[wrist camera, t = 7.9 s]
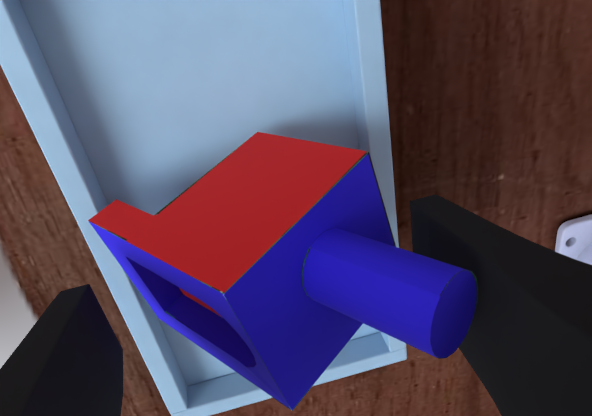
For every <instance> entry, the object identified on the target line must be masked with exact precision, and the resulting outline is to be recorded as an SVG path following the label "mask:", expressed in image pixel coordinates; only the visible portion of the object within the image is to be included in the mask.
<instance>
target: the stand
mask: <svg viewBox="0 0 592 416" xmlns="http://www.w3.org/2000/svg"><path fill="white" fill-rule="evenodd" d="M0 65H1V67H2V69H3V71H4V73H5V75H6V77H7V79H8V81H9V83H10V85H11V87H12V89H13V92H14V94H15V96H16V98H17V100H18V102H19V104H20V106H21V108H22V110H23V112H24V114H25V116H26V118H27V120H28V122H29V124H30V127H31V129H32V131H33V133H34V135H35V137H36V139H37V141H38V143H39V145H40V147H41V149H42V151H43V153H44V155H45V157H46V159H47V161H48V164H49V166H50V168H51V170H52V172H53V174H54V176H55V178H56V180H57V182H58V184H59V186H60V188H61V190H62V192H63V194H64V196H65V198H66V201H67V203H68V205H69V207H70V209H71V211H72V213H73V215H74V217H75V219H76V221H77V223H78V225H79V227H80V229H81V231H82V233H83V235H84V238H85V240H86V242H87V244H88V246H89V248H90V250H91V252H92V254H93V256H94V258H95V260H96V262H97V264H98V266H99V268H100V270H101V273H102V275H103V277H104V279H105V281H106V283H107V285H108V287H109V289H110V291H111V293H112V295H113V297H114V299H115V301H116V303H117V305H118V307H119V310H120V312H121V314H122V316H123V318H124V320H125V322H126V324H127V326H128V328H129V330H130V332H131V334H132V336H133V338H134V340H135V342H136V344H137V347H138V349H139V351H140V353H141V355H142V357H143V359H144V361H145V363H146V365H147V367H148V369H149V371H150V373H151V375H152V377H153V379H154V381H155V384H156V386H157V388H158V390H159V392H160V394H161V396H162V398H163V400H164V402H165V404H166V406H167V408H168V410H169V412H170V414H171V416H210V415H213V414H217V413H220V412H224V411H227V410H231V409H234V408H238V407H241V406H245V405H248V404H252V403H255V402H259V401H262V400H266V399H269V398H273V397H271V396H270V395H269V394H267V393H266V392H264V391H263V390H261V389H260V388H258V387H257V386H256V385H254V384H253V383H251V382H250V381H248V380H247V379H245V378H244V377H243V376H241V375H240V374H238V373H237V372H235V371H234V370H232V369H231V368H230V367H228V366H227V365H225V364H224V363H222V362H221V361H219V360H218V359H216V358H215V357H214V356H212V355H211V354H209V353H208V352H206V351H205V350H203V349H202V348H201V347H199V346H198V345H196V344H195V343H193V342H192V341H190V340H189V339H188V338H186V337H185V336H183V335H182V334H180V333H179V332H177V331H176V330H175V329H173V328H172V327H170V326H169V325H167V324H166V323H164V322H163V321H161V320H160V319H159V318H158V317H157V315H156V314H155V313H154V311H153V310H152V308H151V307H150V306H149V304H148V303H147V302H146V300H145V299H144V297H143V296H142V295H141V293H140V292H139V290H138V289H137V288H136V286H135V285H134V284H133V282H132V281H131V279H130V278H129V277H128V275H127V274H126V273H125V271H124V270H123V268H122V267H121V266H120V264H119V263H118V261H117V260H116V259H115V257H114V256H113V255H112V253H111V252H110V250H109V249H108V248H107V246H106V245H105V244H104V242H103V241H102V239H101V238H100V237H99V235H98V234H97V232H96V231H95V230H94V228H93V227H92V226H91V224H90V223H89V221H88V220H89V219H91V218H92V217H93V216H95V215H96V214H97V213H99V212H100V211H101V210H103V209H104V208H105V207H106V206H108V205H109V204H110V203H112V202H113V201H114V200H116V199H117V200H119V201H121V202H124V203H126V204H128V205H130V206H133V207H135V208H137V209H140V210H142V211H144V212H146V213H149V214H151V215H153V216H154V215H155V214H156V213H157V212H159V211H160V210H161V209H162V208H163V207H165V206H166V205H167V204H168V203H170V202H171V201H172V200H173V199H175V198H176V197H177V196H178V195H180V194H181V193H182V192H183V191H185V190H186V189H187V188H188V187H190V186H191V185H192V184H193V183H195V182H196V181H197V180H198V179H200V178H201V177H202V176H203V175H204V174H206V173H207V172H208V171H209V170H211V169H212V168H213V167H214V166H216V165H217V164H218V163H219V162H221V161H222V160H223V159H224V158H226V157H227V156H228V155H229V154H231V153H232V152H233V151H234V150H236V149H237V148H238V147H239V146H241V145H242V144H243V143H244V142H246V141H247V140H248V139H249V138H250V137H252V136H253V135H254V134H255V133H257V132H262V133H267V134H273V135H278V136H284V137H290V138H295V139H301V140H307V141H312V142H318V143H323V144H329V145H335V146H340V147H346V148H351V149H357V150H363V151H368V152H369V153H370V157H371V160H372V164H373V167H374V171H375V174H376V178H377V181H378V185H379V188H380V192H381V195H382V199H383V202H384V206H385V209H386V213H387V216H388V220H389V223H390V227H391V230H392V234H393V237H394V241H395V244H396V247H398V248H399V244H398V231H397V217H396V204H395V191H394V178H393V165H392V152H391V138H390V125H389V112H388V99H387V86H386V73H385V59H384V46H383V33H382V20H381V7H380V0H0ZM406 359H407V351H406V343H404V342H402V341H400V340H398V339H396V338H394V337H391V336H389V335H387V334H385V333H383V332H381V331H379V330H376V329H374V328H372V327H370V326H368V325H366V324H362V326H361V327H360V328H359V329H358V330H357V332H356V333H355V334H354V335H353V337H352V338H351V339H350V340H349V342H348V343H347V344H346V345H345V347H344V348H343V349H342V350H341V351H340V353H339V354H338V355H337V356H336V358H335V359H334V360H333V361H332V363H331V364H330V365H329V366H328V367H327V369H326V370H325V371H324V372H323V374H322V375H321V376H320V377H319V379H318V380H317V381H316V382H315V383H314V385H313V386H315V385H318V384H322V383H325V382H329V381H332V380H336V379H339V378H343V377H346V376H350V375H353V374H357V373H360V372H364V371H367V370H371V369H374V368H378V367H381V366H385V365H388V364H392V363H395V362H399V361H402V360H406Z"/></svg>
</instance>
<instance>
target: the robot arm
mask: <svg viewBox="0 0 592 416" xmlns="http://www.w3.org/2000/svg"><path fill="white" fill-rule="evenodd" d="M410 210H411V227H412V244H413V253H416V254H419V255H423V256H426V257H429V258H432V259H435V260H438V261H441V262H444V263H447V264H451V265H454V266H457V267H460V268H463V269H466V270H469V271H472V272H473V274H474V275H475V277H476V278H477V284H478V302H477V306H476V311H475V315H474V318H473V321H472V323H471V326H470V329H469V331H468V333H467V335H466V336H465V338H464V340H463V342H462V343H461V345H460V346H459V349H460V350H461V352H462V353H463V355H464V356H465V358H466V359H467V361H468V362H469V364H470V365H471V367H472V368H473V370H474V371H475V373H476V374H477V375H478V377H479V378H480V380H481V381H482V383H483V384H484V386H485V388H486V389H487V391H488V392H489V394H490V396H491V397H492V399H493V401H494V402H495V404H496V406H497V408H498V410H499V411H500V413H501V415H502V416H592V214H591V215H587V216H583V217H580V218H576V219H572V220H569V221H566V222H564V223H563V224H561V226H560V227H559V229H558V231H557V238H556V246H555V251H553V250H550V249H548V248H546V247H543V246H541V245H539V244H536V243H534V242H531V241H529V240H527V239H525V238H523V237H520V236H518V235H516V234H514V233H512V232H510V231H508V230H506V229H504V228H501V227H499V226H497V225H495V224H493V223H491V222H489V221H487V220H485V219H483V218H481V217H480V216H478V215H476V214H474V213H472V212H470V211H468V210H466V209H464V208H462V207H460V206H458V205H456V204H454V203H452V202H450V201H448V200H446V199H444V198H442V197H440V196H438V195H432V196H428V197H424V198H420V199H416V200H412V201H410ZM122 398H123V349H122V347H121V345H120V343H119V341H118V340H117V338H116V336H115V334H114V332H113V330H112V328H111V326H110V324H109V322H108V320H107V318H106V316H105V314H104V312H103V310H102V308H101V306H100V304H99V302H98V300H97V298H96V296H95V294H94V293H93V291H92V289H91V287H90V285H89V284H87V285H83V286H80V287H76V288H72V289H68V290H64V291H61V292H60V293H59V294H58V295H57V296H56V298H55V299H54V300H53V301H52V303H51V304H50V305H49V306H48V308H47V309H46V310H45V312H44V313H43V314H42V316H41V317H40V318H39V320H38V321H37V322H36V324H35V325H34V326H33V328H32V329H31V330H30V331H29V333H28V334H27V336H26V337H25V338H24V339H23V341H22V342H21V343H20V345H19V346H18V347H17V348H16V350H15V351H14V352H13V353H12V355H11V356H10V357H9V359H8V360H7V361H6V363H5V364H4V365H3V366H2V368H1V369H0V416H120V415H121V407H122Z"/></svg>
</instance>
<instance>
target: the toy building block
mask: <svg viewBox="0 0 592 416" xmlns="http://www.w3.org/2000/svg"><path fill="white" fill-rule="evenodd" d="M88 221H89V223H90V224H91V226H92V227H93V228H94V230H95V231H96V232H97V234H98V235H99V237H100V238H101V239H102V241H103V242H104V244H105V245H106V246H107V248H108V249H109V250H110V252H111V253H112V255H113V256H114V257H115V259H116V260H117V261H118V263H119V264H120V266H121V267H122V268H123V270H124V271H125V273H126V274H127V275H128V277H129V278H130V279H131V281H132V282H133V284H134V285H135V286H136V288H137V289H138V290H139V292H140V293H141V295H142V296H143V297H144V299H145V300H146V302H147V303H148V304H149V306H150V307H151V308H152V310H153V311H154V313H155V314H156V315H157V317H158V318H159V319H160V320H161V321H163V322H164V323H166V324H167V325H169V326H170V327H172V328H173V329H175V330H176V331H177V332H179V333H180V334H182V335H183V336H185V337H186V338H188V339H189V340H190V341H192V342H193V343H195V344H196V345H198V346H199V347H201V348H202V349H203V350H205V351H206V352H208V353H209V354H211V355H212V356H214V357H215V358H216V359H218V360H219V361H221V362H222V363H224V364H225V365H227V366H228V367H230V368H231V369H232V370H234V371H235V372H237V373H238V374H240V375H241V376H243V377H244V378H245V379H247V380H248V381H250V382H251V383H253V384H254V385H256V386H257V387H258V388H260V389H261V390H263V391H264V392H266V393H267V394H269V395H270V396H271V397H273V398H274V399H276V400H277V401H279V402H280V403H282V404H283V405H285V406H286V407H287V408H289V409H290V410H292V411H293V409H294V408H295V407H296V406H297V404H298V403H299V402H300V401H301V399H302V398H303V397H304V396H305V395H306V393H307V392H308V391H309V390H310V388H311V387H312V386H313V385H314V383H315V382H316V381H317V380H318V379H319V377H320V376H321V375H322V374H323V372H324V371H325V370H326V369H327V367H328V366H329V365H330V364H331V363H332V361H333V360H334V359H335V358H336V356H337V355H338V354H339V353H340V351H341V350H342V349H343V348H344V347H345V345H346V344H347V343H348V342H349V340H350V339H351V338H352V337H353V335H354V334H355V333H356V332H357V330H358V329H359V328H360V327H361V326H362V324H366V325H368V326H370V327H372V328H374V329H376V330H379V331H381V332H383V333H385V334H387V335H389V336H391V337H394V338H396V339H398V340H400V341H402V342H404V343H406V344H409V345H411V346H413V347H415V348H417V349H419V350H422V351H424V352H426V353H428V354H430V355H432V356H434V357H437V358H447V357H448V356H450V355H451V354H453V353H454V352H455V351H456V349H457V348H458V347H459V346H460V345H461V343H462V342H463V340H464V338H465V336H466V335H467V333H468V331H469V329H470V326H471V323H472V321H473V318H474V315H475V311H476V306H477V302H478V284H477V278H476V277H475V275H474V274H473V272H472V271H469V270H466V269H463V268H460V267H457V266H454V265H451V264H447V263H444V262H441V261H438V260H435V259H432V258H429V257H426V256H423V255H419V254H416V253H413V252H410V251H407V250H404V249H401V248H398V247H396V244H395V241H394V237H393V234H392V230H391V227H390V223H389V220H388V216H387V213H386V209H385V206H384V202H383V199H382V195H381V192H380V188H379V185H378V181H377V178H376V174H375V171H374V167H373V164H372V160H371V157H370V153H369V152H368V151H363V150H357V149H351V148H346V147H340V146H335V145H329V144H323V143H318V142H312V141H307V140H301V139H295V138H290V137H284V136H278V135H273V134H267V133H262V132H257V133H255V134H254V135H253V136H252V137H250V138H249V139H248V140H247V141H246V142H244V143H243V144H242V145H241V146H239V147H238V148H237V149H236V150H234V151H233V152H232V153H231V154H229V155H228V156H227V157H226V158H224V159H223V160H222V161H221V162H219V163H218V164H217V165H216V166H214V167H213V168H212V169H211V170H209V171H208V172H207V173H206V174H204V175H203V176H202V177H201V178H200V179H198V180H197V181H196V182H195V183H193V184H192V185H191V186H190V187H188V188H187V189H186V190H185V191H183V192H182V193H181V194H180V195H178V196H177V197H176V198H175V199H173V200H172V201H171V202H170V203H168V204H167V205H166V206H165V207H163V208H162V209H161V210H160V211H159V212H157V213H156V214H155V215H154V216H153V215H151V214H149V213H146V212H144V211H142V210H140V209H137V208H135V207H133V206H130V205H128V204H126V203H124V202H121V201H119V200H117V199H116V200H114V201H113V202H112V203H110V204H109V205H108V206H106V207H105V208H104V209H103V210H101V211H100V212H99V213H97V214H96V215H95V216H93V217H92V218H91V219H89V220H88Z"/></svg>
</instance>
